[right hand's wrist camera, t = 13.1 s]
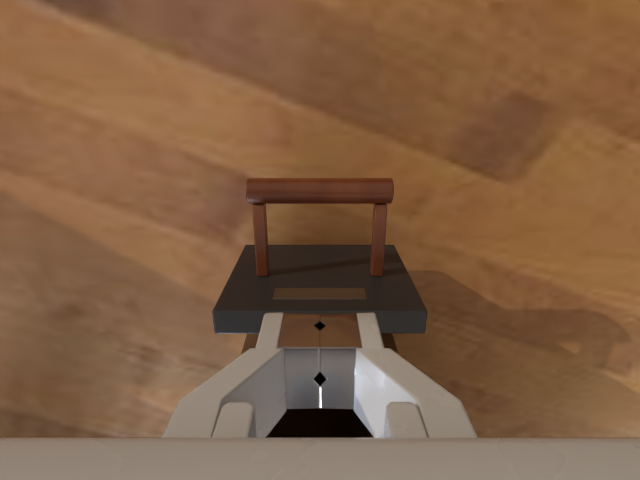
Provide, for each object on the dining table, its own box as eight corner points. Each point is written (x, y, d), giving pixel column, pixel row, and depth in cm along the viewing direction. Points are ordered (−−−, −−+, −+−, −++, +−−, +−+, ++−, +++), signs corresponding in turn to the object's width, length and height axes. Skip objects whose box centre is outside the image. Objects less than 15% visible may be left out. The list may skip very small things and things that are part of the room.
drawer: (239, 163, 22) (197, 197, 15) (400, 163, 22) (441, 197, 15) (262, 471, 31) (245, 589, 24) (376, 471, 31) (394, 588, 24)
